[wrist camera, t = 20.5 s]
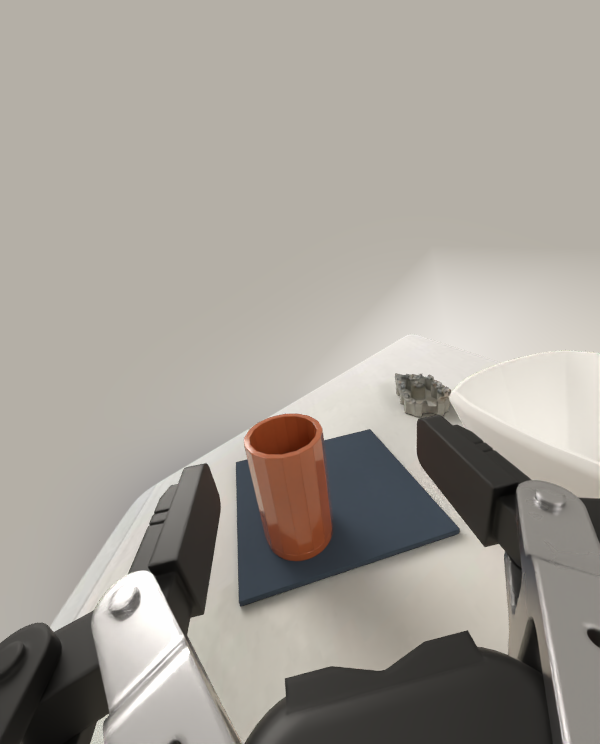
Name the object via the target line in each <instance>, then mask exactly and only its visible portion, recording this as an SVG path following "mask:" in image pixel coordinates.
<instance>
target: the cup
mask: <svg viewBox="0 0 600 744" xmlns="http://www.w3.org/2000/svg"><path fill="white" fill-rule="evenodd" d="M244 446H245V451H246V455H247V459H248V464H249V468H250V472H251V477H252V481H253V485H254V489H255V494H256V498H257V502H258V507H259V511H260V515H261V519H262V524H263V528H264V532H265V536H266V539H267V542H268V545H269V547H270V549H271V550H272V551H273V552H274V553H275V554H276V555H277V556H279V557H281V558H283V559H286V560H289V561H303V560H307V559H310V558H313V557H314V556H316V555H318V554H319V553H321V552H322V551H323V550H324V549H325V548H326V546H327V545H328V543H329V542H330V540H331V537H332V534H333V516H332V508H331V499H330V490H329V482H328V473H327V464H326V455H325V447H324V438H323V429H322V427H321V425H320V424H319V422H318V421H317V420H315V419H314V418H312V417H310V416H307V415H302V414H282V415H278V416H273V417H270V418H267V419H265V420H263V421H261V422H259V423H257V424H256V425H255V426H253V427H252V428H251V429H250V430H249V431H248V433H247V434H246V436H245V438H244Z"/></svg>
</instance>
